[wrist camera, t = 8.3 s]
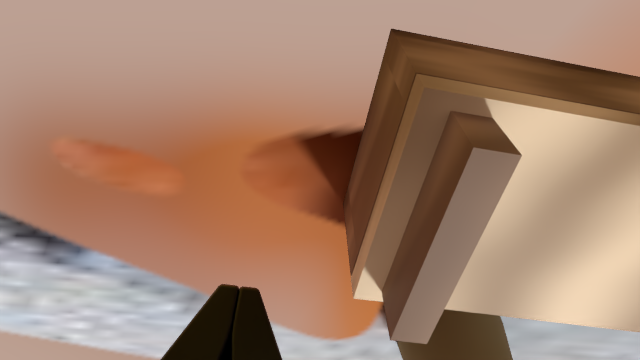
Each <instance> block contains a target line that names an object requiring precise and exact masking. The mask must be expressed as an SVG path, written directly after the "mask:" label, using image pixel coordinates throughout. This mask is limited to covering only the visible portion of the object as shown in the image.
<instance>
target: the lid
mask: <svg viewBox="0 0 640 360" xmlns="http://www.w3.org/2000/svg"><path fill="white" fill-rule="evenodd" d="M351 281H352V291H353V298H354V299H362V300H371V301H379V302H384V308H385V314H386V319H387V325H388V330H389V336H390V340H394V341H403V342H412V343H422V344H427V343H428V341H429V339H430V337H431V335H432V333H433V331H434V329H435V327H436V325H437V323H438V321H439V319H440V317H441V315H442V313H443V311H444V309H447V310H455V311H464V312H472V313H481V314H489V315H498V316H506V317H515V318H523V319H532V320H540V321H549V322H557V323H566V324H574V325H582V326H591V327H599V328H608V329H616V330H625V331H633V332H640V114H634V113H629V112H623V111H618V110H612V109H607V108H601V107H596V106H591V105H585V104H580V103H574V102H569V101H563V100H558V99H552V98H547V97H541V96H536V95H531V94H525V93H520V92H514V91H509V90H503V89H498V88H492V87H487V86H482V85H476V84H471V83H465V82H460V81H454V80H449V79H443V78H438V77H432V76H427V75H422V74H416V77H415V80H414V83H413V86H412V89H411V93H410V96H409V99H408V102H407V105H406V108H405V111H404V114H403V117H402V121H401V124H400V127H399V130H398V133H397V136H396V139H395V142H394V146H393V149H392V152H391V155H390V158H389V161H388V164H387V167H386V170H385V174H384V177H383V180H382V183H381V186H380V189H379V192H378V195H377V199H376V202H375V205H374V208H373V211H372V214H371V217H370V220H369V223H368V227H367V230H366V233H365V236H364V239H363V242H362V245H361V248H360V251H359V255H358V258H357V261H356V264H355V267H354V270H353V273H352V277H351Z"/></svg>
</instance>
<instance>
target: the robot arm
mask: <svg viewBox="0 0 640 360" xmlns="http://www.w3.org/2000/svg"><path fill="white" fill-rule="evenodd" d="M161 360H282V358H281V355H280V352H279V349H278V346H277V343H276V340H275V337H274V334H273V331H272V328H271V325H270V322H269V319H268V316H267V312H266V309H265V306H264V303H263V301H262V297H261V294H260V292H259V290H258V289H257V288H251V287H241V288H240V289H239V288H238V286H235V285H226V284H221V285H220V286H218V288H217V289H216V290H215V291H214V293H213V294H212V295H211V296H210V298H209V299H208V300H207V302H206V303H205V304H204V305H203V307H202V308H201V309H200V310H199V312H198V313H197V314H196V315H195V317H194V318H193V319H192V321H191V322H190V323H189V324H188V326H187V327H186V328H185V329H184V331H183V332H182V333H181V335H180V336H179V337H178V338H177V340H176V341H175V342H174V343H173V345H172V346H171V347H170V348H169V350H168V351H167V352H166V354H165V355H164V356H163V357H162V359H161Z"/></svg>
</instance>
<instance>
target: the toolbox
mask: <svg viewBox="0 0 640 360" xmlns="http://www.w3.org/2000/svg"><path fill="white" fill-rule="evenodd" d="M416 74H422V75H427V76H432V77H438V78H443V79H449V80H454V81H460V82H465V83H471V84H476V85H482V86H487V87H492V88H498V89H503V90H509V91H514V92H520V93H525V94H531V95H536V96H541V97H547V98H552V99H558V100H563V101H569V102H574V103H580V104H585V105H591V106H596V107H601V108H607V109H612V110H618V111H623V112H629V113H634V114H640V77H637V76H631V75H627V74H622V73H617V72H611V71H606V70H601V69H596V68H591V67H586V66H580V65H575V64H570V63H565V62H560V61H555V60H550V59H544V58H539V57H534V56H529V55H524V54H519V53H514V52H508V51H503V50H498V49H493V48H488V47H483V46H477V45H473V44H467V43H463V42H457V41H452V40H447V39H442V38H437V37H432V36H426V35H421V34H416V33H411V32H406V31H400V30H395V29H391V31H390V35H389V39H388V42H387V46H386V49H385V53H384V57H383V61H382V64H381V68H380V72H379V75H378V79H377V82H376V86H375V90H374V93H373V97H372V101H371V104H370V108H369V112H368V115H367V119H366V123H365V126H364V130H363V134H362V137H361V141H360V145H359V148H358V152H357V155H356V159H355V163H354V166H353V170H352V174H351V177H350V181H349V185H348V188H347V192H346V196H345V199H344V203H343V207H344V216H345V225H346V234H347V244H348V253H349V263H350V272H351V276H352V273H353V270H354V267H355V264H356V261H357V258H358V255H359V251H360V248H361V245H362V242H363V239H364V236H365V233H366V230H367V227H368V223H369V220H370V217H371V214H372V211H373V208H374V205H375V202H376V199H377V195H378V192H379V189H380V186H381V183H382V180H383V177H384V174H385V170H386V167H387V164H388V161H389V158H390V155H391V152H392V149H393V146H394V142H395V139H396V136H397V133H398V130H399V127H400V124H401V121H402V117H403V114H404V111H405V108H406V105H407V102H408V99H409V96H410V93H411V89H412V86H413V83H414V80H415V77H416Z"/></svg>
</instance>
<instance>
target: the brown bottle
mask: <svg viewBox="0 0 640 360" xmlns="http://www.w3.org/2000/svg"><path fill="white" fill-rule="evenodd" d="M398 347H399V350H400V352H401V355H402V358H403V360H513V359H512V355H511V351H510V348H509V344H508V341H507V337H506V333H505V330H504V326H503V323H502V320H501V318H500V316H498V315H489V314H481V313H472V312H464V311H455V310H447V309H444V311H443V313H442V315H441V317H440V319H439V321H438V323H437V325H436V327H435V329H434V331H433V333H432V335H431V337H430V339H429V341H428V343H427V344H422V343H412V342H403V341H398Z"/></svg>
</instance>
